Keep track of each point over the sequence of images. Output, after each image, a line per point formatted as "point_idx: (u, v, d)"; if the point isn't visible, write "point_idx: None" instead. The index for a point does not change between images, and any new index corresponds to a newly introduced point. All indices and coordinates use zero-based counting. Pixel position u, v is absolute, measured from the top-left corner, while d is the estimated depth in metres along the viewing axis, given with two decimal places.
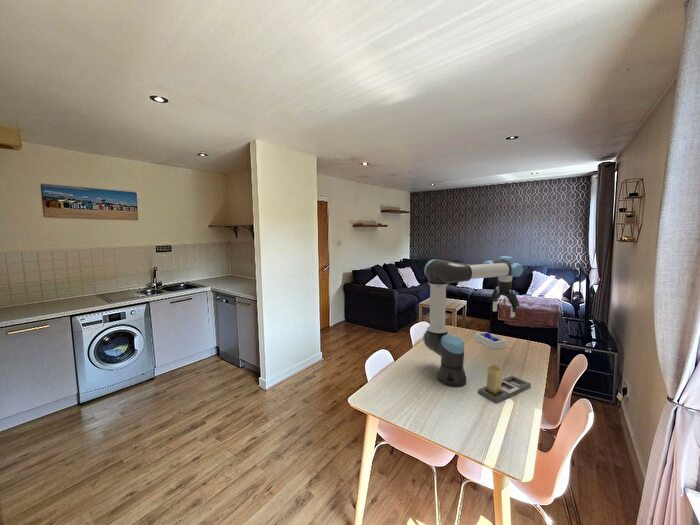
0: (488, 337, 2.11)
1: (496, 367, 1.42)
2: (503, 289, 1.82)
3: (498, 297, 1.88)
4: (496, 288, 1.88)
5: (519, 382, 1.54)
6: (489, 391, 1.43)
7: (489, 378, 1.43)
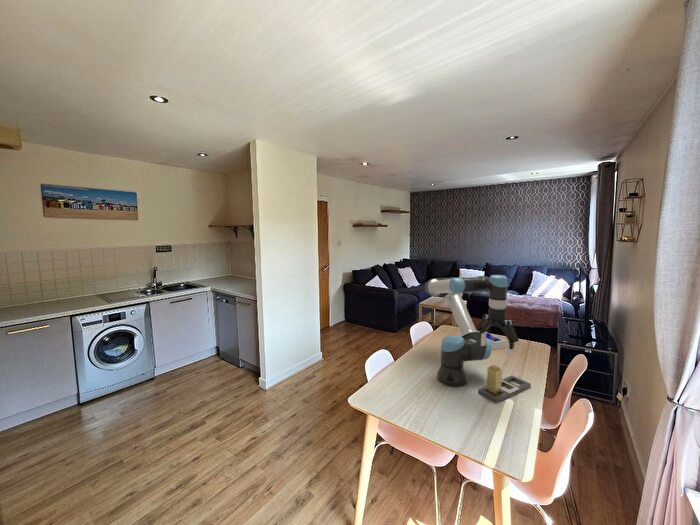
0: (489, 337, 2.11)
1: (496, 367, 1.42)
2: (495, 318, 1.40)
3: (487, 328, 1.46)
4: (485, 316, 1.45)
5: (519, 382, 1.54)
6: (489, 391, 1.43)
7: (489, 378, 1.43)
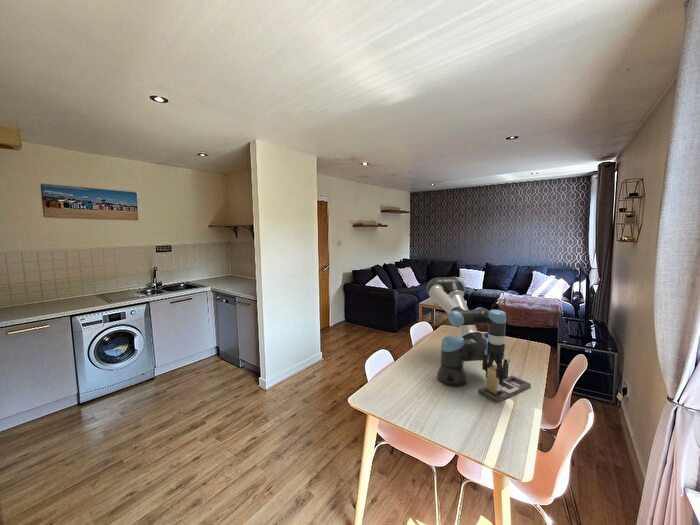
0: None
1: (496, 367, 1.42)
2: (494, 353, 1.41)
3: (491, 365, 1.45)
4: (484, 352, 1.46)
5: (519, 382, 1.54)
6: (489, 391, 1.43)
7: (489, 378, 1.43)
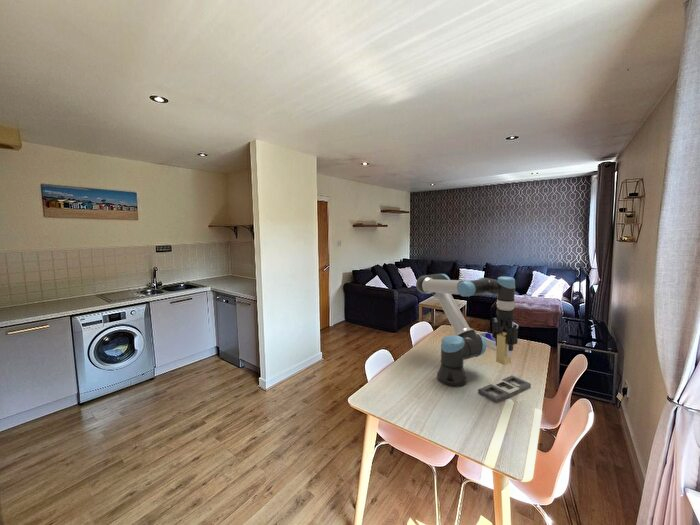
0: (489, 337, 2.11)
1: (506, 334, 1.42)
2: (503, 319, 1.42)
3: (501, 332, 1.45)
4: (494, 319, 1.47)
5: (519, 382, 1.54)
6: (499, 358, 1.44)
7: (499, 345, 1.43)
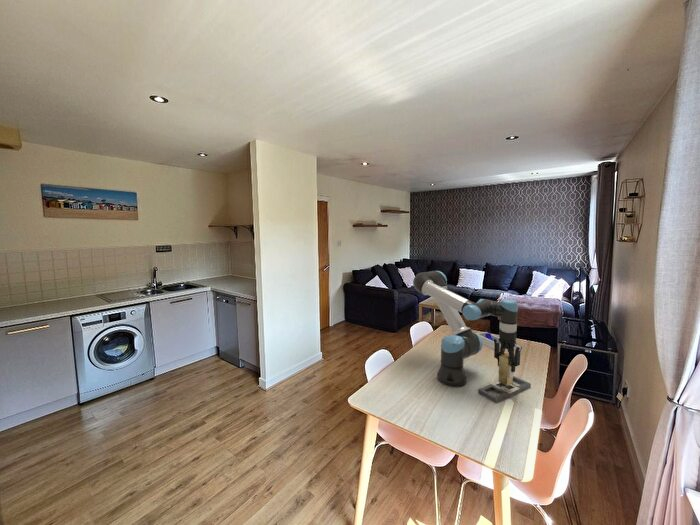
0: (489, 337, 2.11)
1: (508, 355, 1.45)
2: (506, 341, 1.45)
3: (503, 353, 1.48)
4: (496, 340, 1.50)
5: (519, 382, 1.54)
6: (501, 378, 1.47)
7: (501, 366, 1.47)
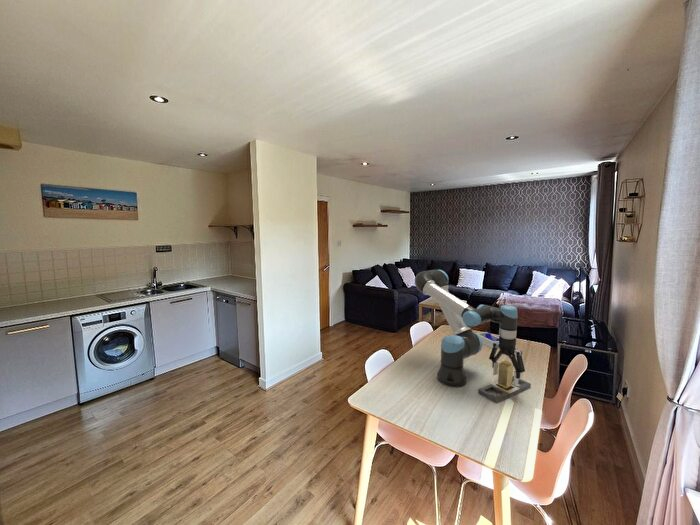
0: (489, 337, 2.11)
1: (507, 363, 1.46)
2: (505, 347, 1.45)
3: (499, 356, 1.50)
4: (495, 345, 1.50)
5: (519, 382, 1.54)
6: (500, 386, 1.48)
7: (501, 373, 1.47)
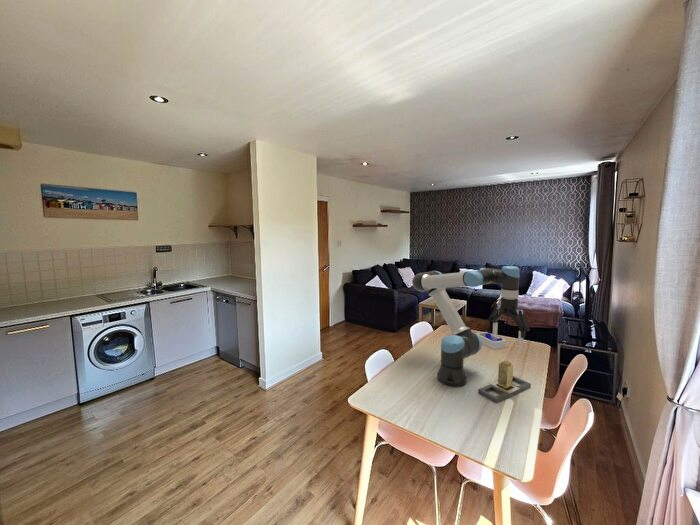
0: (489, 337, 2.11)
1: (507, 363, 1.46)
2: (507, 308, 1.44)
3: (499, 317, 1.49)
4: (497, 306, 1.49)
5: (519, 382, 1.54)
6: (500, 386, 1.48)
7: (501, 374, 1.47)
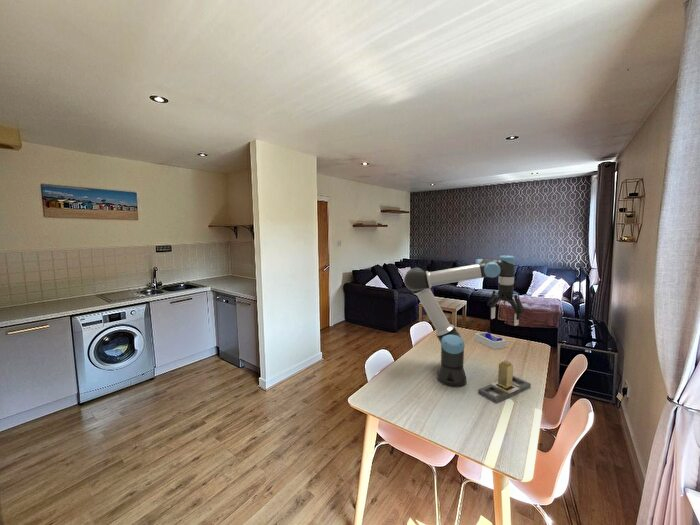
0: (489, 337, 2.11)
1: (507, 363, 1.46)
2: (504, 293, 1.58)
3: (497, 302, 1.64)
4: (495, 292, 1.64)
5: (519, 382, 1.54)
6: (500, 386, 1.48)
7: (501, 373, 1.47)
